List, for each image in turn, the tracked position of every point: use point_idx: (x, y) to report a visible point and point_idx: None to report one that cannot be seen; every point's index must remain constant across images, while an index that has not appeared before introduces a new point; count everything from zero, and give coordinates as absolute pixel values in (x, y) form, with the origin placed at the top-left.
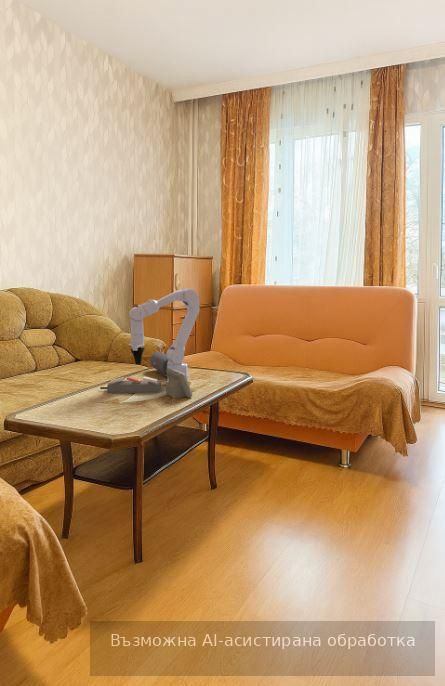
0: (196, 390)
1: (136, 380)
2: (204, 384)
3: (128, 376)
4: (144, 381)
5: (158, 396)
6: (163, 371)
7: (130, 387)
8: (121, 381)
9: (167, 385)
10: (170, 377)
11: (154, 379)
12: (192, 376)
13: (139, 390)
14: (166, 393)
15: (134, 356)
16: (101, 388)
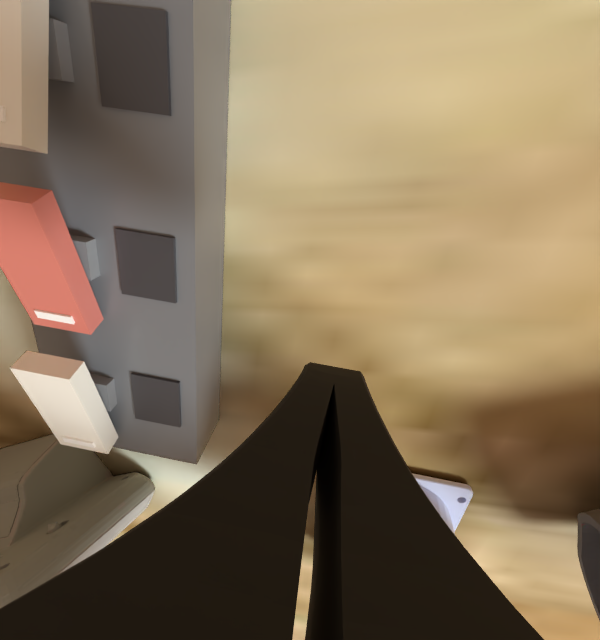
0: None
1: (17, 289)
2: (298, 604)
3: (22, 206)
4: (151, 347)
5: (7, 384)
6: (597, 524)
7: None
8: (117, 92)
9: (11, 478)
10: (7, 544)
11: (80, 436)
12: (551, 610)
13: None
14: None
15: (228, 471)
16: None
